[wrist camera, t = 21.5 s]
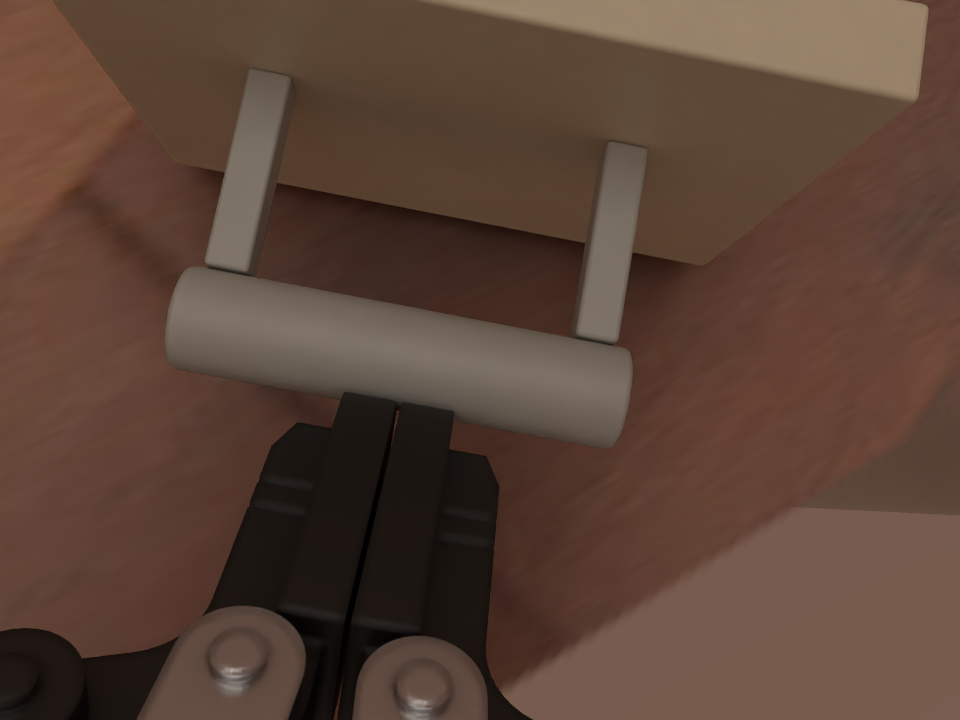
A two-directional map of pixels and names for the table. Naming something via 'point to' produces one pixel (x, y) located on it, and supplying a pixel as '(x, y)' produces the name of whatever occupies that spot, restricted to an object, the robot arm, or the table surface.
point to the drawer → (490, 164)
